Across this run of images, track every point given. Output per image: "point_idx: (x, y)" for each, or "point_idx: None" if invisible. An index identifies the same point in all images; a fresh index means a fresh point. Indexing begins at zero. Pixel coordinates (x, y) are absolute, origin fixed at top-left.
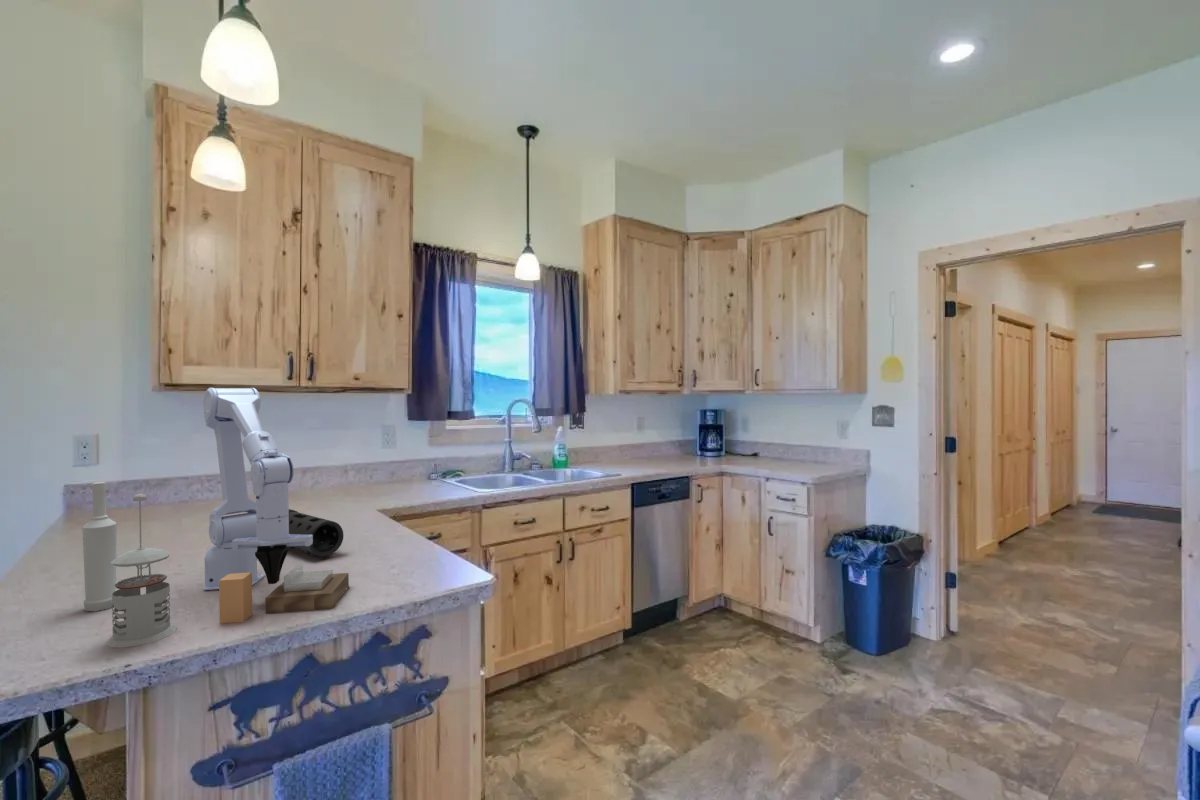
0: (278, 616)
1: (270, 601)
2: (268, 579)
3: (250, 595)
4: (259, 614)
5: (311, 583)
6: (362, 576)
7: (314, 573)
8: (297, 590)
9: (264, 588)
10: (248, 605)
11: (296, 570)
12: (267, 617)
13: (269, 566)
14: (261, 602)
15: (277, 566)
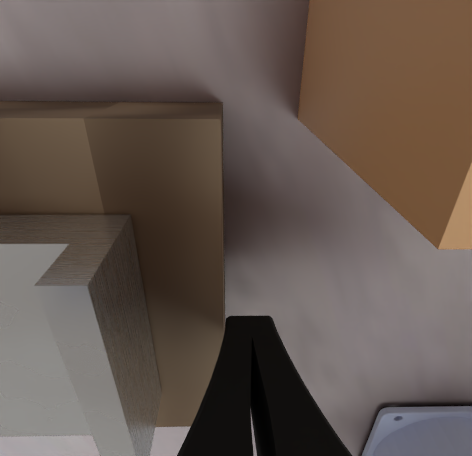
0: (116, 22)
1: (187, 115)
2: (269, 336)
3: (334, 110)
4: (252, 93)
5: None
6: (11, 440)
7: (29, 405)
8: (38, 217)
9: (329, 395)
10: (322, 60)
11: (83, 410)
12: (182, 20)
13: (272, 442)
14: (297, 267)
15: (189, 436)
